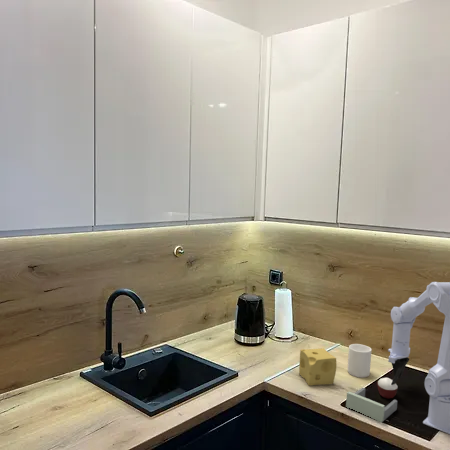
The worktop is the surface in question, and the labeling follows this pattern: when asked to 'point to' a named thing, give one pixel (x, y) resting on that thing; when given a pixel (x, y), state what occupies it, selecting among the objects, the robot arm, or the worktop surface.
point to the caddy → (369, 406)
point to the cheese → (317, 366)
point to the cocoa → (388, 386)
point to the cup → (359, 360)
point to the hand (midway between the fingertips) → (397, 376)
